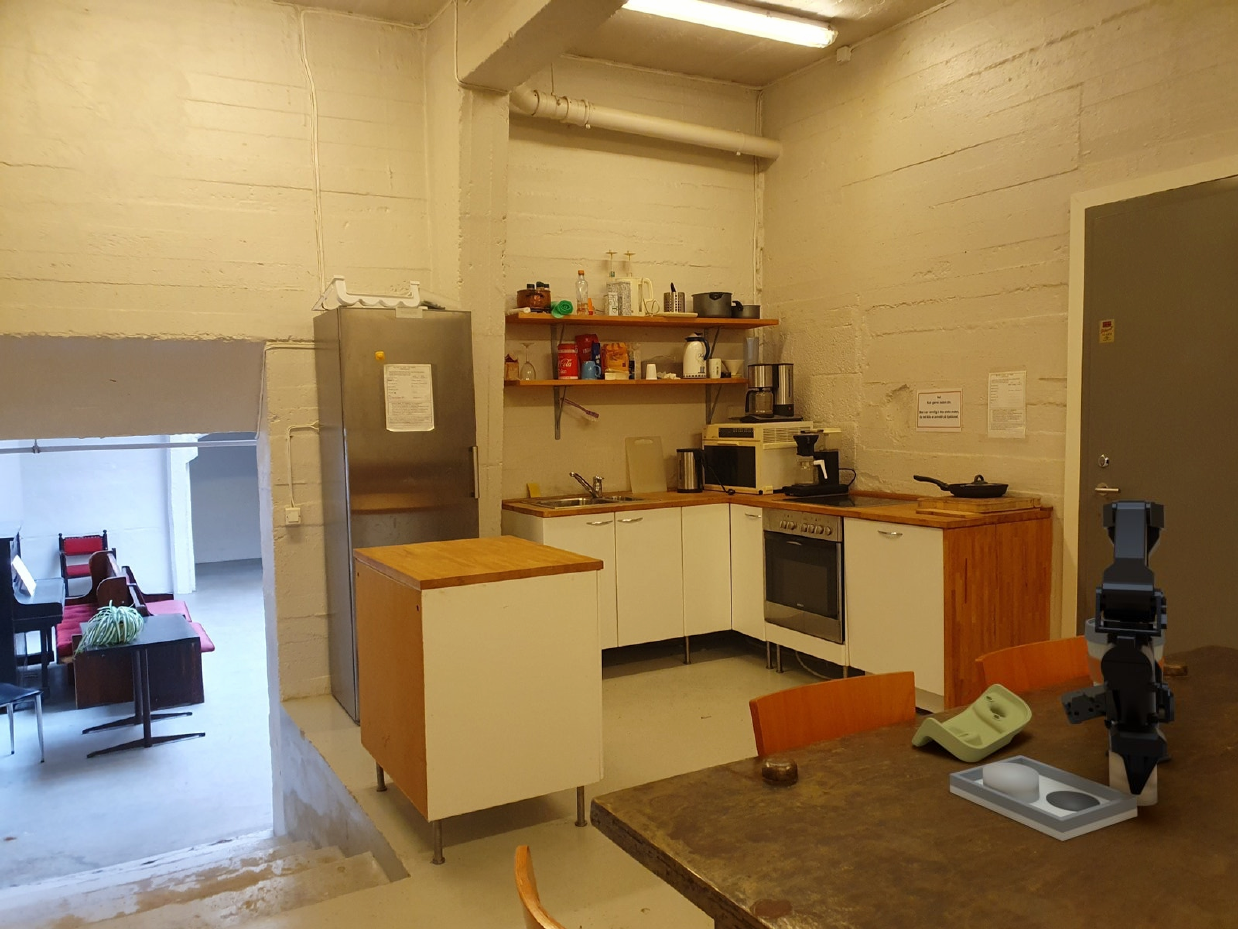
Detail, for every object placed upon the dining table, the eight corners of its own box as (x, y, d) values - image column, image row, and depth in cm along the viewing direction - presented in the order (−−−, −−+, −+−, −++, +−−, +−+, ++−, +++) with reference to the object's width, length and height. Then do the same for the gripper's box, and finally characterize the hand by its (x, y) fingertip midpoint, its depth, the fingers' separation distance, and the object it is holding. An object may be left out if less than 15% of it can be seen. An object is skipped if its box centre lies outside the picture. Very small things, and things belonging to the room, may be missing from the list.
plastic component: (975, 752, 136) (921, 711, 143) (959, 789, 139) (906, 747, 146) (1043, 713, 148) (989, 677, 155) (1026, 748, 151) (975, 711, 158)
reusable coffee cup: (1183, 718, 154) (1181, 630, 154) (1108, 721, 154) (1106, 633, 154) (1141, 696, 167) (1139, 615, 166) (1072, 699, 167) (1070, 618, 166)
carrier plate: (1021, 772, 134) (1020, 745, 134) (1137, 816, 117) (1136, 785, 117) (950, 791, 128) (949, 763, 127) (1062, 841, 111) (1061, 808, 111)
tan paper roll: (1127, 786, 127) (1126, 741, 127) (1166, 800, 122) (1165, 752, 122) (1100, 794, 125) (1099, 748, 124) (1139, 809, 119) (1138, 761, 119)
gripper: (1061, 651, 134) (1064, 756, 135) (1066, 685, 117) (1069, 805, 118) (1148, 656, 130) (1150, 764, 130) (1166, 692, 113) (1169, 816, 113)
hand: (1133, 786), depth 123 cm, fingers closed on tan paper roll, 6 cm apart
